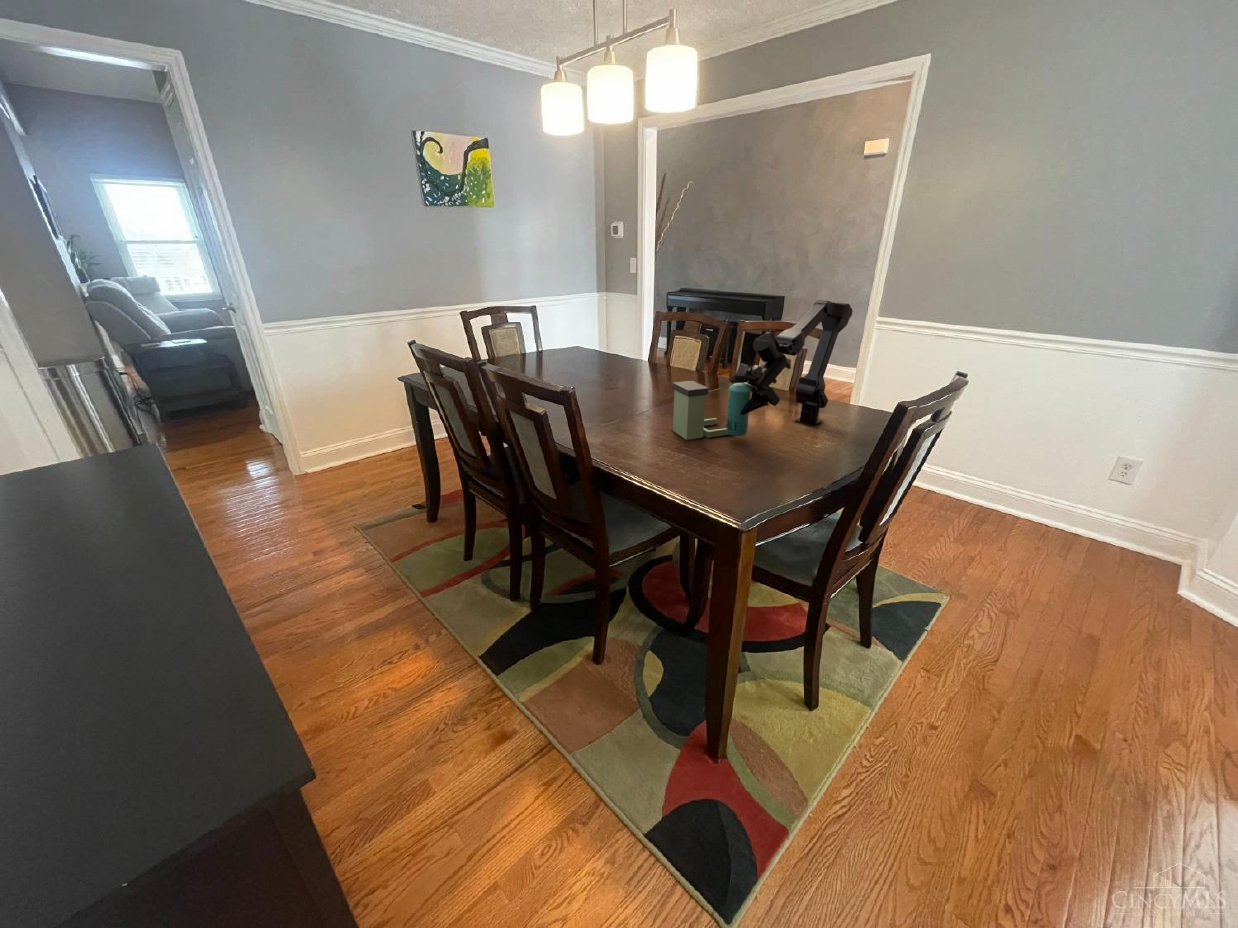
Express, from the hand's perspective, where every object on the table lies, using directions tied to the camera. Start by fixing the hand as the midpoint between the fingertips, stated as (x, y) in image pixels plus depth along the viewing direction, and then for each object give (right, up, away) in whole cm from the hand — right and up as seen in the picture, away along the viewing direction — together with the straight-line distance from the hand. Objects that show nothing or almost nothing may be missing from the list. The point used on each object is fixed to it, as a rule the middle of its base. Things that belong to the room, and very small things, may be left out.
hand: (735, 411), depth 147 cm
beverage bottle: (+1, -7, +4) cm, 9 cm away
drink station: (-8, -5, +12) cm, 16 cm away
